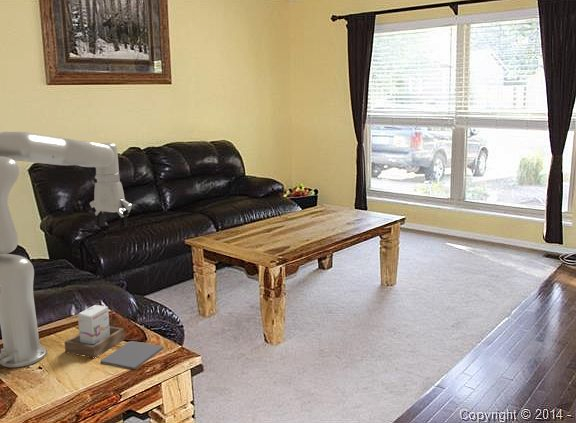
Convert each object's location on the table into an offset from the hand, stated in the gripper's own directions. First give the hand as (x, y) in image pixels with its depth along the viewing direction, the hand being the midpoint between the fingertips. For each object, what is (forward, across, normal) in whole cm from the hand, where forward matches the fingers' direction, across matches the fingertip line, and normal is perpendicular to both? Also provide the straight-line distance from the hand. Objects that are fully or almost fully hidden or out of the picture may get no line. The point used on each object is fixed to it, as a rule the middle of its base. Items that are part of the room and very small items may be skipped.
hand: (112, 226), depth 196 cm
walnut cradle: (+30, +13, -28) cm, 44 cm away
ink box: (+31, +13, -28) cm, 44 cm away
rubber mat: (+30, +28, -30) cm, 51 cm away
